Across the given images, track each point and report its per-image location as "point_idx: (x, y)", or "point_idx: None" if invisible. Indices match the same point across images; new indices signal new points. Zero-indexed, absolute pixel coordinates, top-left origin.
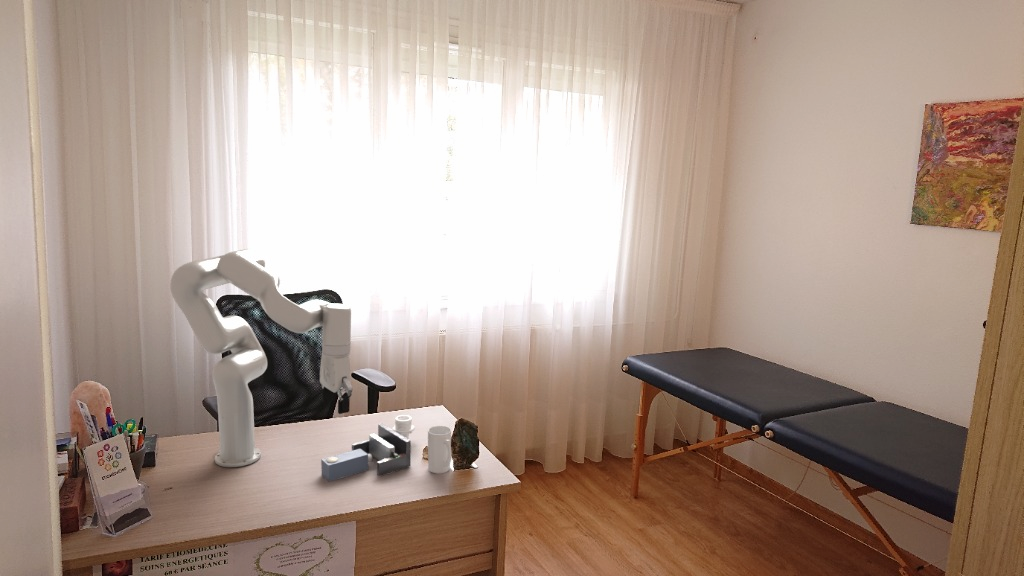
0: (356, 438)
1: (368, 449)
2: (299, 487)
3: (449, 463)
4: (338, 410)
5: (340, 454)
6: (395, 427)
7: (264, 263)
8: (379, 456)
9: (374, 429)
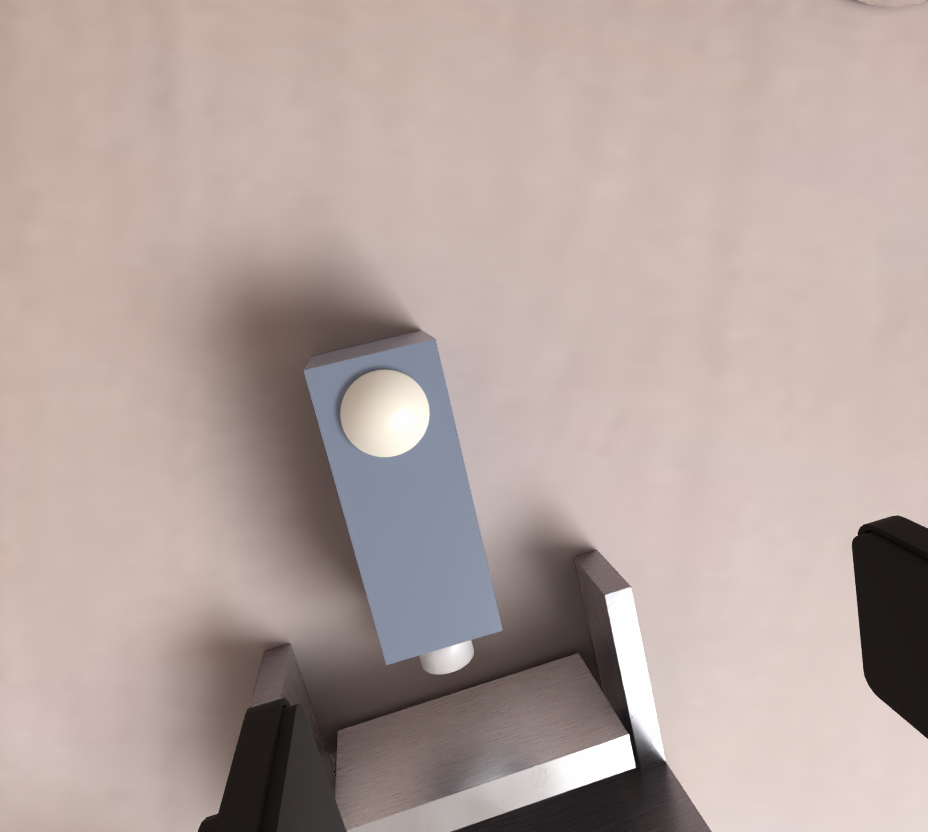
0: (819, 615)
1: (602, 660)
2: (298, 157)
3: None
4: (249, 742)
5: (461, 486)
6: None
7: None
8: (462, 708)
9: (882, 727)
